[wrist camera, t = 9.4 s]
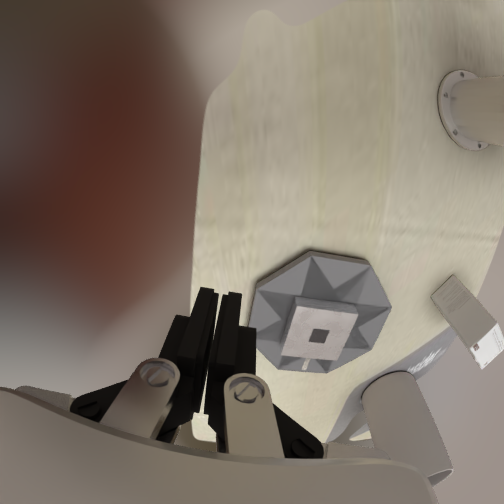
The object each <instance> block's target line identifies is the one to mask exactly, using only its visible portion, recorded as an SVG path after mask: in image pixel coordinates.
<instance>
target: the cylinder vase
mask: <svg viewBox="0 0 504 504" xmlns="http://www.w3.org/2000/svg"><path fill="white" fill-rule="evenodd" d="M362 405H363V408H364V412H365V415H366V418H367V422H368V426H369V430H370V433H371V437H372V441H373V444H374V448H377V449H381V450H383V451H385V452H386V453H387V454H388V455H389V457H390V458H391V460H395V461H399V462H404V463H407V464H410V465H412V466H415V467H417V468H418V469H420V470H421V471H422V472H423V473H424V474H425V475H426V477H427V478H428V480H429V481H430V483H431V485H432V487H433V486H435V485H437V484H438V483H440V482H442V481H443V480H445V479H446V478H447V477H449V476H450V475H451V474H452V473H453V471H454V469H453V466H452V463H451V461H450V458H449V456H448V453H447V450H446V448H445V445H444V443H443V440H442V438H441V436H440V433H439V431H438V428H437V426H436V424H435V422H434V419H433V417H432V415H431V412H430V410H429V408H428V406H427V404H426V401H425V399H424V397H423V395H422V393H421V391H420V389H419V387H418V384H417V382H416V380H415V378H414V377H413V376H412V375H411V374H410V373H407V372H394V373H391V374H388V375H385V376H383V377H381V378H379V379H377V380H376V381H374V382H373V383H372V384H371V385H370V386H369V387H368V388H367V389H366V390H365V392H364V393H363V396H362Z"/></svg>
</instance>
